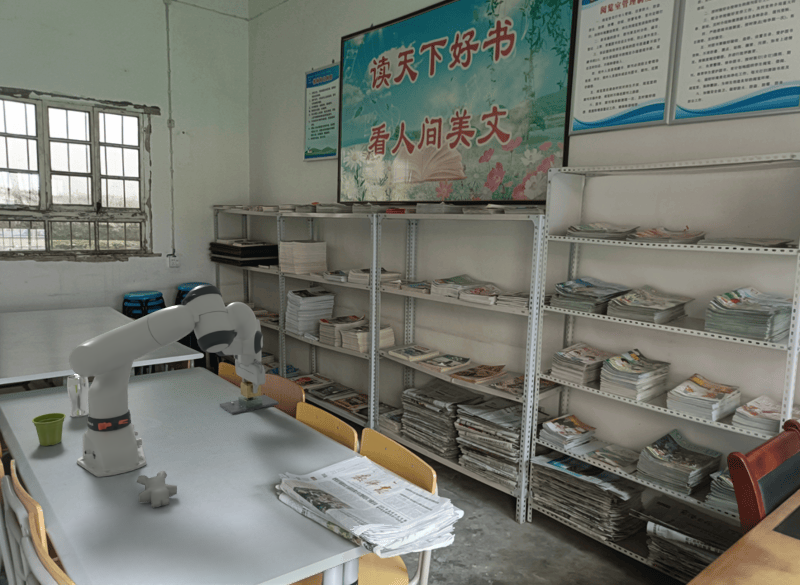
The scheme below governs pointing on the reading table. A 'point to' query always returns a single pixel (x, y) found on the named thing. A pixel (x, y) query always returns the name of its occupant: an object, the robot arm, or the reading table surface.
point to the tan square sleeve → (249, 389)
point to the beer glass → (78, 395)
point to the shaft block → (248, 404)
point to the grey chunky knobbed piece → (156, 489)
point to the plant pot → (49, 428)
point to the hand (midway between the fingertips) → (250, 390)
